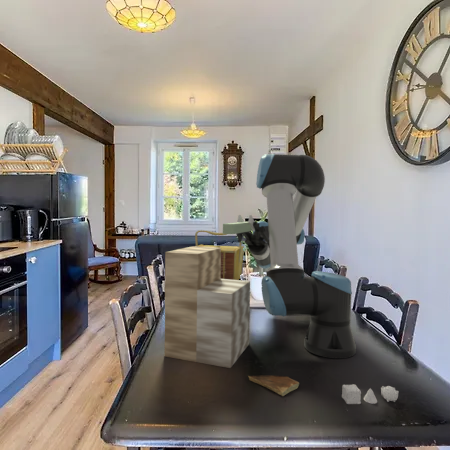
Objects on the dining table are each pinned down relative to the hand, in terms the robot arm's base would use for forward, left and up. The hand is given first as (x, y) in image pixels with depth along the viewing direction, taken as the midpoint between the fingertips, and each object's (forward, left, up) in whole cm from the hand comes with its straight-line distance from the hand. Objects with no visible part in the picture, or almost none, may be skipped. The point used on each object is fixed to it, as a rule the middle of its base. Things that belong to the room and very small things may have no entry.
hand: (244, 218), depth 118 cm
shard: (-32, +20, -40) cm, 55 cm away
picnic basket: (+74, -49, -40) cm, 97 cm away
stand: (-5, +18, -39) cm, 44 cm away
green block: (-2, +3, -4) cm, 6 cm away
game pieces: (-49, +7, -40) cm, 64 cm away
